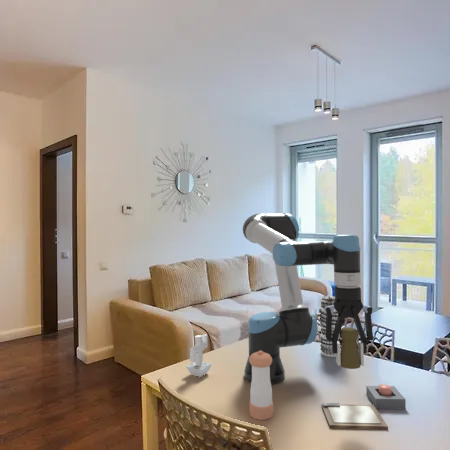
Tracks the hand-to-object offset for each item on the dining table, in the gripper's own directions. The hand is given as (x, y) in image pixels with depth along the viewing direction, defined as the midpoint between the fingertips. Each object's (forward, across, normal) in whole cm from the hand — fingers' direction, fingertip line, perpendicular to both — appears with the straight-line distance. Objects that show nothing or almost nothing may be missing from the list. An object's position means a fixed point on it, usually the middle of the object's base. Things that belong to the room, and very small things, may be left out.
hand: (349, 363), depth 109 cm
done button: (+13, +13, +10) cm, 21 cm away
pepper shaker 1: (+16, -27, +1) cm, 31 cm away
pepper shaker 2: (+1, 0, 0) cm, 1 cm away
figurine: (+15, -50, +28) cm, 59 cm away
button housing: (+16, +13, +10) cm, 23 cm away
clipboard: (+16, 0, 0) cm, 16 cm away
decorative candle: (+15, +5, +53) cm, 55 cm away
